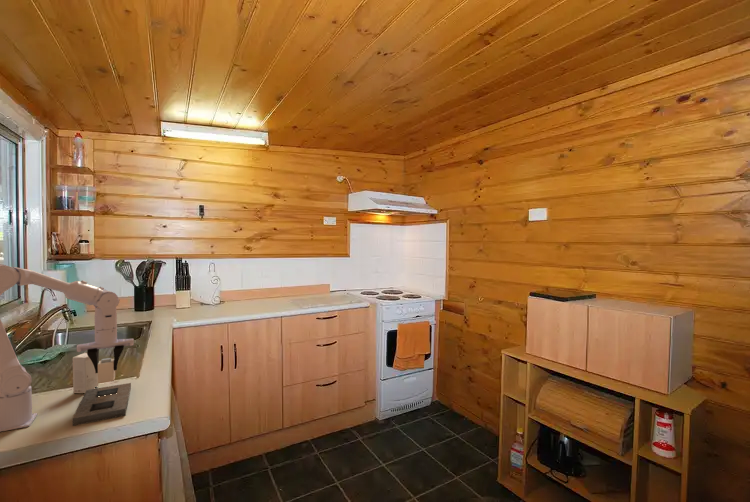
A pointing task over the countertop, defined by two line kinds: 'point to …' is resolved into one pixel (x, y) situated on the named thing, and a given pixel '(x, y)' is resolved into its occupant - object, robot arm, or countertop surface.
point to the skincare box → (83, 374)
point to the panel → (102, 404)
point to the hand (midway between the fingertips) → (106, 370)
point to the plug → (106, 370)
